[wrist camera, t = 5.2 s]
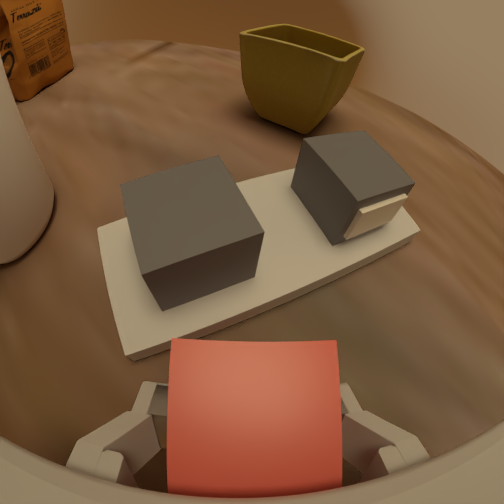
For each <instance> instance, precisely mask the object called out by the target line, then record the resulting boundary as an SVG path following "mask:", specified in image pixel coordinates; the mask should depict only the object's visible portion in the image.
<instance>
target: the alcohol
mask: <svg viewBox="0 0 504 504" xmlns="http://www.w3.org/2000/svg"><path fill="white" fill-rule="evenodd" d="M53 200H54V188H53V185H52V182H51V180H50V179H49V177H48V175H47V173H46V171H45V169H44V167H43V165H42V163H41V161H40V159H39V157H38V155H37V153H36V150H35V148H34V146H33V144H32V142H31V140H30V137H29V135H28V133H27V130H26V128H25V126H24V123H23V121H22V118H21V116H20V113H19V111H18V108H17V105H16V103H15V100H14V97H13V94H12V91H11V89H10V86H9V82H8V79H7V76H6V73H5V69H4V66H3V62H2V59H1V55H0V264H3V263H9V262H12V261H14V260H16V259H18V258H19V257H21V256H22V255H24V254H25V253H26V252H27V251H28V250H29V249H30V248H31V247H32V246H33V245H34V244H35V243H36V242H37V240H38V239H39V238H40V237H41V235H42V233H43V232H44V230H45V229H46V227H47V224H48V222H49V220H50V217H51V214H52V209H53Z"/></svg>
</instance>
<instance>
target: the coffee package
mask: <svg viewBox="0 0 504 504" xmlns="http://www.w3.org/2000/svg"><path fill="white" fill-rule="evenodd" d="M0 55H1V59H2V62H3V66H4V69H5V73H6V76H7V79H8V82H9V86H10V89H11V91H12V94H13V97H14V100H16V99H17V100H19V101H26V100H30V99H31V98H33V97H34V96H35V95H36V94H37V93H38V92H39V91H40V90H41V89H42V88H44V87H46V86H47V85H50V84H53V83H55V82H56V81H58V80H59V79H61V78H62V77H63V76H64V75H65V74H67V73H68V72H69V71H70V70H72V69H73V68H74V66H73V60H72V56H71V51H70V44H69V38H68V32H67V25H66V21H65V14H64V8H63V3H62V0H0Z"/></svg>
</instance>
